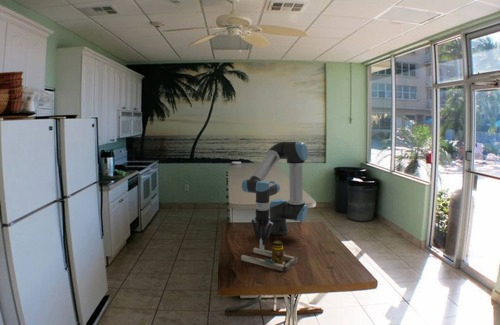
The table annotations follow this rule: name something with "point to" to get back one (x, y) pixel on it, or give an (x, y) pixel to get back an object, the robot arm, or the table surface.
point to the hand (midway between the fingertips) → (261, 250)
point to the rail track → (270, 263)
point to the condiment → (277, 252)
